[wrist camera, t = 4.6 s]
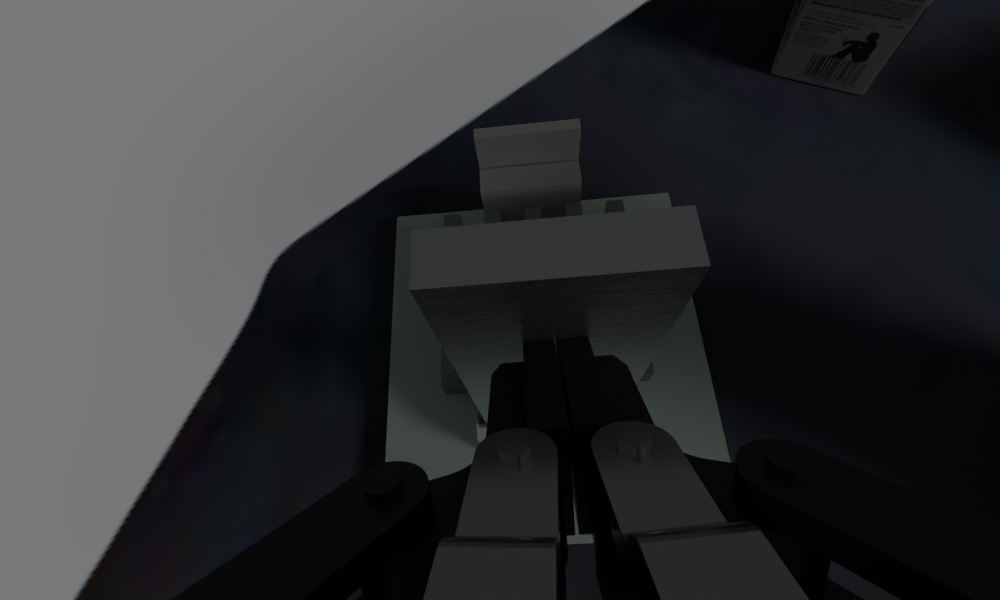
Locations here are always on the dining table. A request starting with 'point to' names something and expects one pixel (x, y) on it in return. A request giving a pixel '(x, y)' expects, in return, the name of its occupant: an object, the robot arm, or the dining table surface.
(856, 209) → the dining table surface
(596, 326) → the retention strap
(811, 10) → the coffee box
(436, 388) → the grey square stand
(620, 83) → the dining table surface
